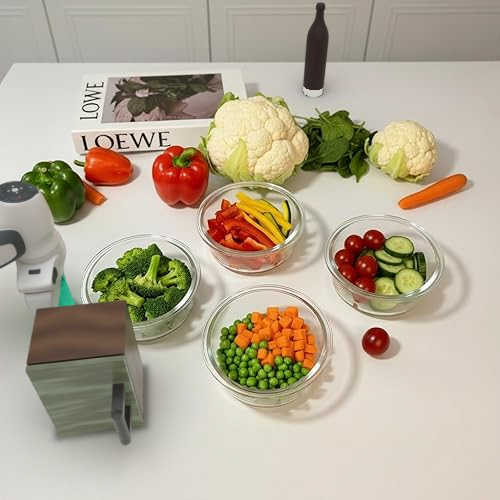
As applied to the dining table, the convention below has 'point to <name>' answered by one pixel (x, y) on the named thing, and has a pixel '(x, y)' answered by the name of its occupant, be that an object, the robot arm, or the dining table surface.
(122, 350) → the cupboard
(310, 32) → the wine bottle
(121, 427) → the cupboard door
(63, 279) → the candle
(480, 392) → the dining table surface
